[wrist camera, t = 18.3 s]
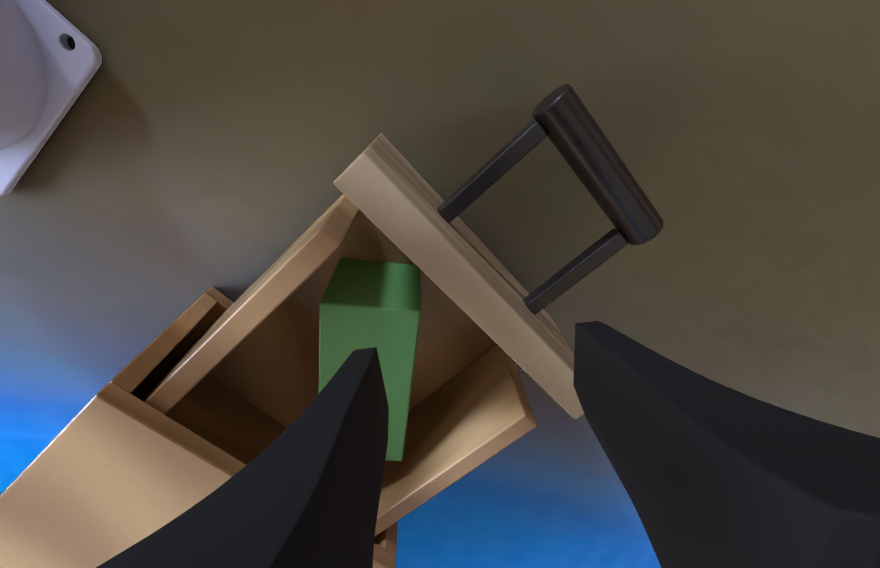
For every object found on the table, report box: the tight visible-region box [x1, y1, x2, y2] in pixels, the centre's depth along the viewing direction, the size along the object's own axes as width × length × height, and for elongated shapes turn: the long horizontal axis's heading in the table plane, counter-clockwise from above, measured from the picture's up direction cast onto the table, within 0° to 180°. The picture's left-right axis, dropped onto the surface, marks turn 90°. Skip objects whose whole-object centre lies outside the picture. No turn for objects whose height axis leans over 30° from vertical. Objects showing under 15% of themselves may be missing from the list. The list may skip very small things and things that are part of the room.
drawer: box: [141, 84, 663, 536], centre depth 17 cm, size 20×12×6 cm, turn 132°
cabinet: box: [0, 287, 398, 568], centre depth 20 cm, size 15×13×8 cm
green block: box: [318, 258, 421, 461], centre depth 17 cm, size 7×3×4 cm, turn 173°
